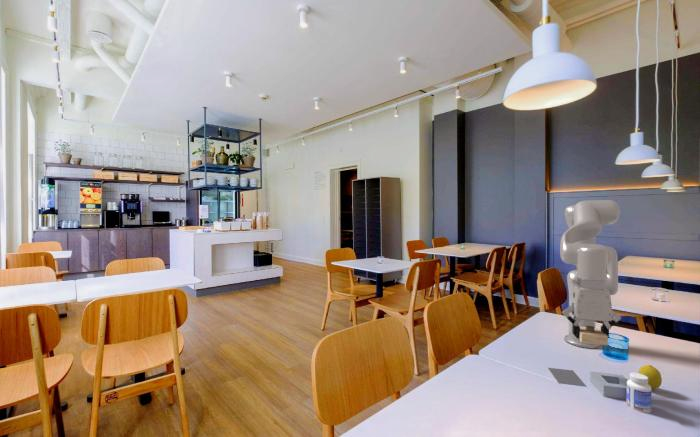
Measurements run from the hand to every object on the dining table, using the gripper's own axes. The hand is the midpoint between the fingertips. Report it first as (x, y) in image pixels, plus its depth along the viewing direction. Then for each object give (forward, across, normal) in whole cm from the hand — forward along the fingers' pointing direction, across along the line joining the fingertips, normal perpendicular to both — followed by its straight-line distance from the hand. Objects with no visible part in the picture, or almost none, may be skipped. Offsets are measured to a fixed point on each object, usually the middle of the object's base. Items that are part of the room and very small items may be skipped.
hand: (590, 337), depth 106 cm
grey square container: (+16, +6, -3) cm, 17 cm away
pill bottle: (+16, +8, -11) cm, 21 cm away
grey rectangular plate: (+16, -6, +3) cm, 17 cm away
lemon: (+16, +18, +3) cm, 24 cm away
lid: (+1, 0, 0) cm, 1 cm away
